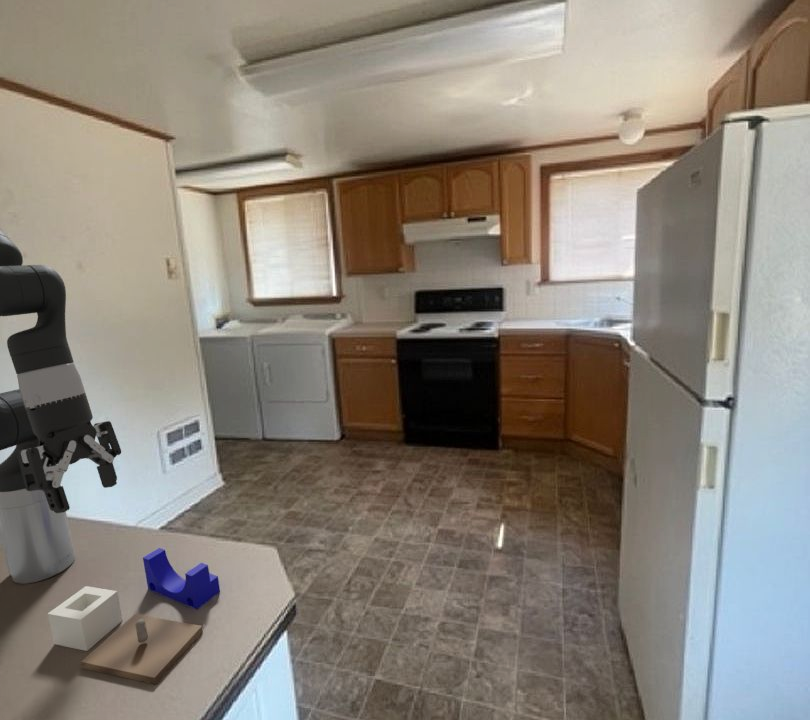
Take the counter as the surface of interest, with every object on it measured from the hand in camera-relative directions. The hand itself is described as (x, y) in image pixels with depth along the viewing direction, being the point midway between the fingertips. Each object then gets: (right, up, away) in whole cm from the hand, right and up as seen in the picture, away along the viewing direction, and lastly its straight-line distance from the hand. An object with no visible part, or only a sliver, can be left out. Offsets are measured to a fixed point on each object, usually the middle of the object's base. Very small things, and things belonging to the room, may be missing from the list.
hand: (87, 498), depth 72 cm
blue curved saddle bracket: (+12, -17, +5) cm, 22 cm away
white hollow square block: (+2, -19, -3) cm, 19 cm away
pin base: (+13, -19, -7) cm, 24 cm away
